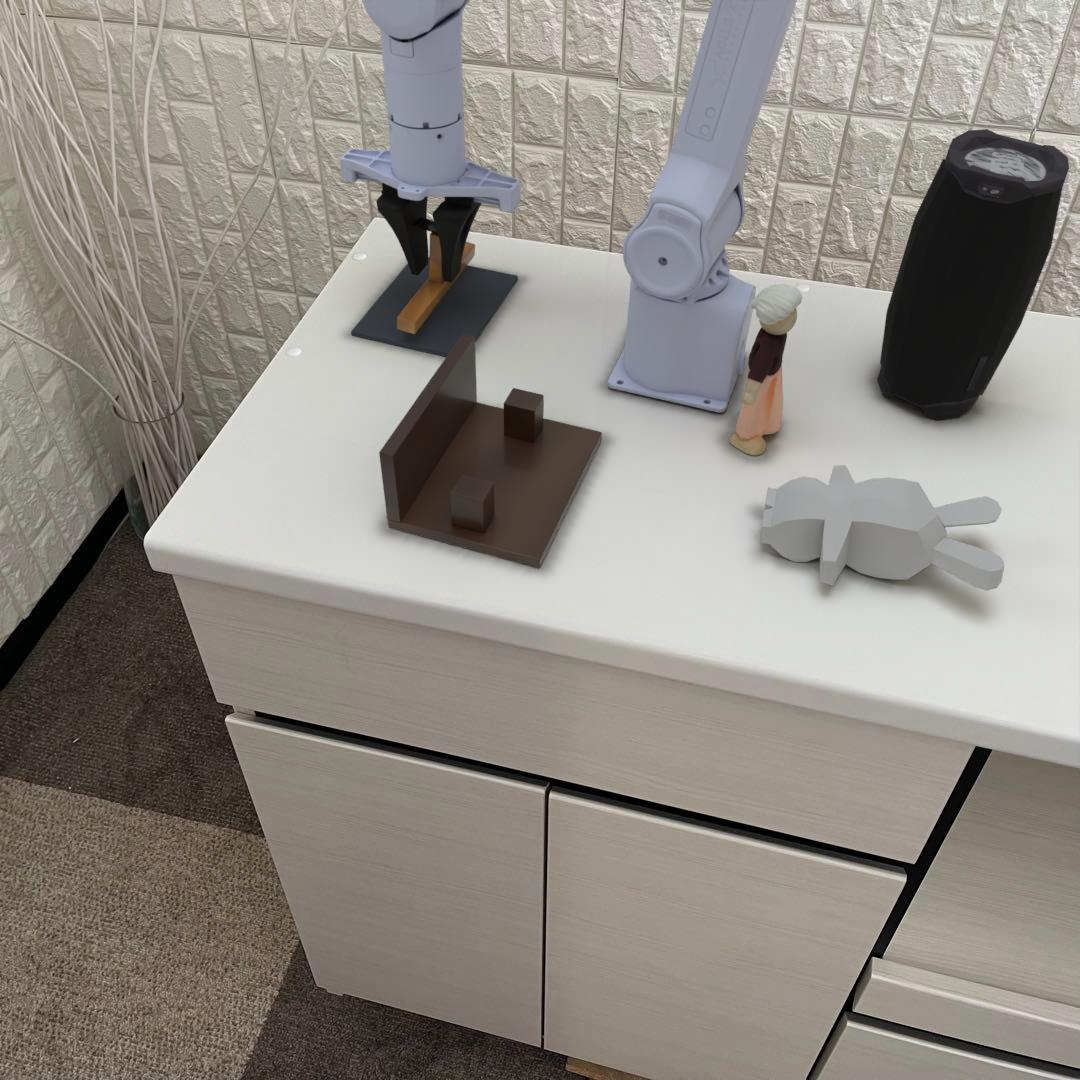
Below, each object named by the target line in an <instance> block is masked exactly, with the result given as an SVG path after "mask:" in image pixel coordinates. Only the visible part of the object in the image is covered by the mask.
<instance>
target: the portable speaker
mask: <svg viewBox="0 0 1080 1080" xmlns="http://www.w3.org/2000/svg"><path fill="white" fill-rule="evenodd" d="M1069 170H1070V162H1069V157H1068V156H1067V155H1066V154H1065V153H1063V151H1061V150H1060V149H1059V148H1057V147H1056V146H1055V145H1050V144H1038V143H1034V142H1030V141H1026V140H1022V139H1018V138H1015V137H1010V136H1006V135H1004V134H1003V135H1002V134H998V133H996V132H994V131H992V130H990V129H987V128H986V129H971V130H969V129H968V130H967V131H964V132H963V133H960V134H959V135H957V136H955V137H954V138H952V139H951V142H950V144H949V147H948V149H947V153H946V156H945V158H942V160H941V163H940V164H939V167H938V168H937V171H936V173H935V175H934V177H933V179H932V181H931V183H930V185H929V187H928V189H927V192H926V193H925V195H924V197H923V200H922V201H921V204H920V206H919V208H918V210H917V212H916V214H915V216H914V219H913V221H912V224H911V229H910V231H909V235H908V238H907V242H906V245H905V248H904V252H903V255H902V259H901V261H900V265H899V269H898V272H897V274H896V275H897V276H896V278H895V281H894V282H895V283H894V286H893V288H892V291H891V296H890V300H889V302H888V306H887V308H886V314H885V322H884V330H883V337H882V345H881V353H880V359H879V360H880V361H879V365H880V368H879V372H878V375H877V377H876V380H877V383H878V386H879V389H880V391H881V394H882V396H886V397H893V396H895V397H898V398H900V399H902V400H904V401H906V402H909V403H911V404H912V405H915V406H917V407H919V408H921V409H922V411H923V412H924V414H925V416H926V417H927V418H930V419H933V420H936V421H941V420H950V419H954V418H960V417H963V416H964V415H965V414H967V413H969V411H971V410H972V408H973V407H974V405H975V403H976V402H977V401H978V399H979V397H981V396H983V395H984V393H985V391H986V390H987V388H988V386H989V384H990V382H991V381H992V379H993V377H994V375H995V374H996V372H997V369H998V368H999V366H1000V364H1001V362H1002V360H1003V358H1004V357H1005V355H1006V354H1007V352H1008V349H1009V348H1010V346H1011V344H1012V342H1013V341H1014V339H1015V336H1016V335H1017V333H1018V331H1019V329H1020V327H1021V326H1022V323H1023V321H1024V318H1025V316H1026V313H1027V311H1028V308H1029V305H1030V302H1031V299H1032V297H1033V295H1034V292H1035V290H1036V287H1037V284H1038V283H1039V280H1040V277H1041V274H1042V272H1043V269H1044V267H1045V264H1046V261H1047V259H1048V256H1049V254H1050V251H1051V249H1052V246H1053V241H1054V235H1055V230H1056V224H1057V220H1058V219H1057V218H1058V213H1059V207H1060V203H1061V197H1062V193H1063V187H1064V185H1065V181H1066V179H1067V176H1068V173H1069Z"/></svg>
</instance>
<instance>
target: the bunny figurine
mask: <svg viewBox="0 0 1080 1080" xmlns="http://www.w3.org/2000/svg"><path fill="white" fill-rule="evenodd" d="M829 477H830V478H829V480H828V484H827V483H825V482H824V481H822V480H820V479H818V478H817V477H810V476H800V477H797V478H794V479H791V480H788V481H787V482H785V483H784V484H782V485H780V486H779V487H777V488H775V487H767V491H766V497H765V503H764V510H763V514H762V519H761V525H760V538H759V543H760V544H765V545H766V544H768V545H770V546H771V548H773V549H774V551H776V552H777V553H778V554H779V555H780V557H783V558H785V559H787V560H790V561H791V562H795V563H807V562H811V561H813V560H817V559H819V582H820V583H824V584H826V585H831V586H833V585H834V584H835V583H836V581H837V579H838V578H839V576H840V575H841V573H842V571H843V569H844V568H845V567H846V566H848V567H849V568H851V569H853V570H854V571H856V572H857V573H859V574H862V575H865V576H869V577H873V578H878V579H885V580H909V579H910V578H912V577H914V576H915V575H917V574H918V573H919V572H921V571H923V570H924V569H926V568H927V567H929V566H930V565H933V566H935V567H937V568H939V569H940V570H942V571H944V572H946V573H948V574H950V575H952V576H953V577H955V578H957V579H959V580H961V581H963V582H964V583H966V584H968V585H970V586H972V587H974V588H976V589H980V590H983V591H991V590H995V589H998V587H999V586H1000V584H1001V583H1002V580H1003V576H1004V570H1005V562H1004V560H1003V558H1002V557H1001V556H1000V555H998V554H996V553H994V552H992V551H990V550H986V549H983V548H980V547H976V546H974V545H971V544H967V543H964V542H960V541H957V540H954V539H951V538H948V533H947V529H946V528H955V527H965V526H966V527H967V526H968V527H969V526H977V525H978V526H979V525H989V524H993V523H996V522H997V520H998V519H999V518H1000V516H1001V515H1002V506H1001V505H1000V503H999V502H998V501H997V500H996V499H993V498H991V497H989V496H980V497H979V496H977V497H972V498H968V499H965V500H959V501H956V502H953V503H952V502H951V503H948V504H944V505H941V506H936V507H934V505H933V504H932V502H931V501H930V499H929V497H928V495H927V494H926V492H925V491H924V489H923V487H922V486H921V484H920V482H918V481H915V480H911V479H910V480H909V479H905V478H895V477H876V478H875V477H874V478H869V479H866V480H862V481H860V482H855V480H854V478H853V477H852V475H851V473H850V471H849V468H848V467H847V465H846V464H842V465H833V466H832V470H831V474H830V476H829Z"/></svg>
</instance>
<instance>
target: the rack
mask: <svg viewBox="0 0 1080 1080" xmlns="http://www.w3.org/2000/svg"><path fill="white" fill-rule="evenodd" d="M476 361H477V359H476V341H475V337H474V336H469V335H465V334H462V335H461V337H460V338H459V340H458V341H457V342H456V344H455V345H454V347H453V348H452V350H451V351H450V352H449V354H448V355H447V357H444V359H443V360H442V362H441V364H440V365H439V366H438V368H437V370H436V371H435V372H434V373H433V375H432V376H431V378H430V379H429V380H428V382H427V384H426V385H425V386H424V388H423V389H422V391H421V392H420V394H419V395H418V396H417V398H416V400H415V401H414V402H413V404H412V405H411V406H410V408H409V410H408V411H407V412H406V414H405V415H404V417H403V418H402V419H401V420H400V422H399V423H398V425H396V428H395V429H394V430H393V432H392V434H391V435H390V436H389V438H388V439H387V440H386V442H385V444H383V446H382V448H381V449H380V451H379V452H378V455H379V463H380V471H381V479H382V486H383V495H384V496H383V497H384V503H385V511H386V519H387V526H388V528H389V529H394V530H397V531H401V532H404V533H408V534H412V535H415V536H419V537H423V538H427V539H431V540H435V541H438V542H442V543H445V544H449V545H453V546H456V547H460V548H464V549H467V550H471V551H475V552H478V553H483V554H486V555H489V556H493V557H497V558H501V559H505V560H508V561H512V562H515V563H519V564H524V565H527V566H530V567H534V568H537V569H539V568H541V565H542V563H543V561H544V559H545V557H546V555H547V553H548V551H549V549H550V547H551V545H552V543H553V541H554V538H555V537H556V535H557V533H558V530H559V529H560V527H561V524H562V522H563V520H564V518H565V517H566V515H567V512H568V509H569V507H570V506H571V503H572V501H573V499H574V497H575V495H576V494H577V491H578V488H580V485H581V482H582V481H583V478H584V476H585V475H586V472H587V471H588V468H589V466H590V464H591V462H592V460H593V458H594V456H595V454H596V451H597V450H598V447H599V446H600V444H601V441H602V437H603V432H602V431H599V430H594V429H591V428H586V427H582V426H579V425H578V426H577V425H574V424H569V423H565V422H561V421H557V420H552V419H549V418H545V417H544V404H545V403H544V401H545V395H544V394H542V393H537V392H533V391H528V390H526V389H525V390H524V389H521V388H516V387H513V388H512V389H511V391H510V392H509V394H508V396H507V397H506V399H505V400H504V402H503V408H502V407H497V406H494V405H489V404H485V403H482V402H478V395H477V394H478V393H477V392H478V391H477V388H478V387H477V362H476Z"/></svg>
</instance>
